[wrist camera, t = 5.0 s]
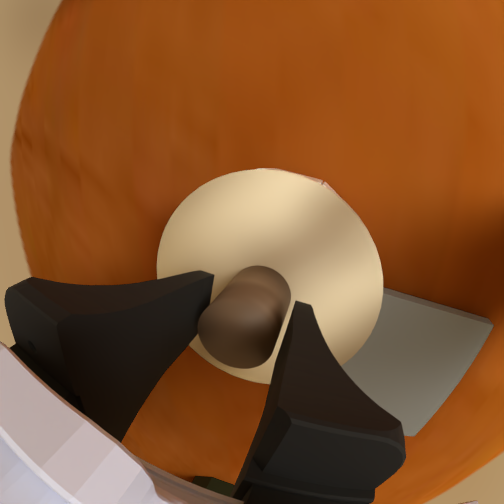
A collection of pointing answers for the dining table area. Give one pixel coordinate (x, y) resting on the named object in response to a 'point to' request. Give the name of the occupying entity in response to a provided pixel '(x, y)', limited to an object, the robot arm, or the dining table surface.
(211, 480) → the wine bottle
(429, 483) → the dining table surface
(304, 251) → the lid
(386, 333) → the mat
